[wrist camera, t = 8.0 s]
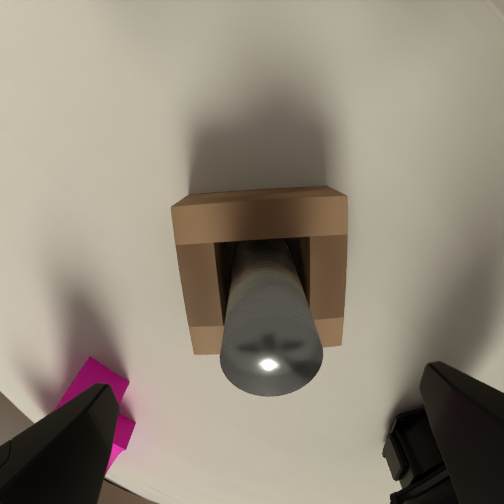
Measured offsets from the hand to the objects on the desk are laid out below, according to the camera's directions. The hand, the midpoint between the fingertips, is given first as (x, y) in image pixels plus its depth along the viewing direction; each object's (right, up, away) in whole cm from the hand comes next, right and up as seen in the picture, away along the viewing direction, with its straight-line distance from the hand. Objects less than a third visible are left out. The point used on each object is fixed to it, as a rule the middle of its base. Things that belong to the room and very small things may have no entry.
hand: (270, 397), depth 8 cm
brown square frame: (0, +3, +11) cm, 12 cm away
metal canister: (0, +4, +11) cm, 12 cm away
